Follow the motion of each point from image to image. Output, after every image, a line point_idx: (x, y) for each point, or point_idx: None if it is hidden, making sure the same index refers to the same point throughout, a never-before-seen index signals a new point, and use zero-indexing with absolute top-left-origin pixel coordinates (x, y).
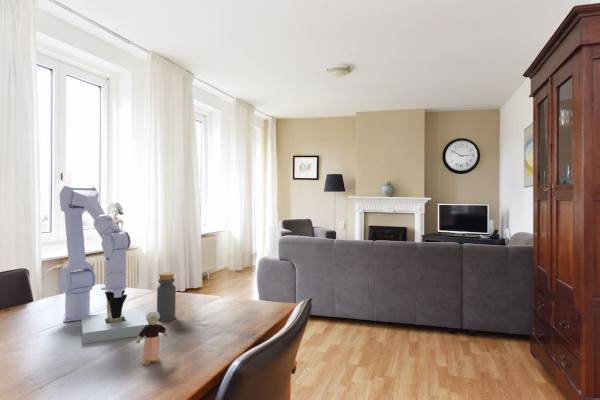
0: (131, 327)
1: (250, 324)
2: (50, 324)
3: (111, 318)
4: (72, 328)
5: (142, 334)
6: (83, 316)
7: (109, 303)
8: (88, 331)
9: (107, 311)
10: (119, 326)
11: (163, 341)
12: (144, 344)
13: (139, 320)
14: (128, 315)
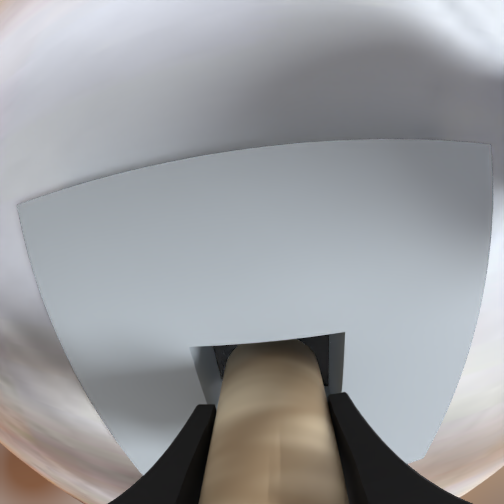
0: (114, 432)
1: None
2: (488, 12)
3: (221, 396)
4: (411, 88)
5: None
6: (479, 157)
7: (111, 502)
8: (36, 237)
9: (251, 417)
10: (116, 401)
11: (87, 448)
12: None
13: None
14: None
